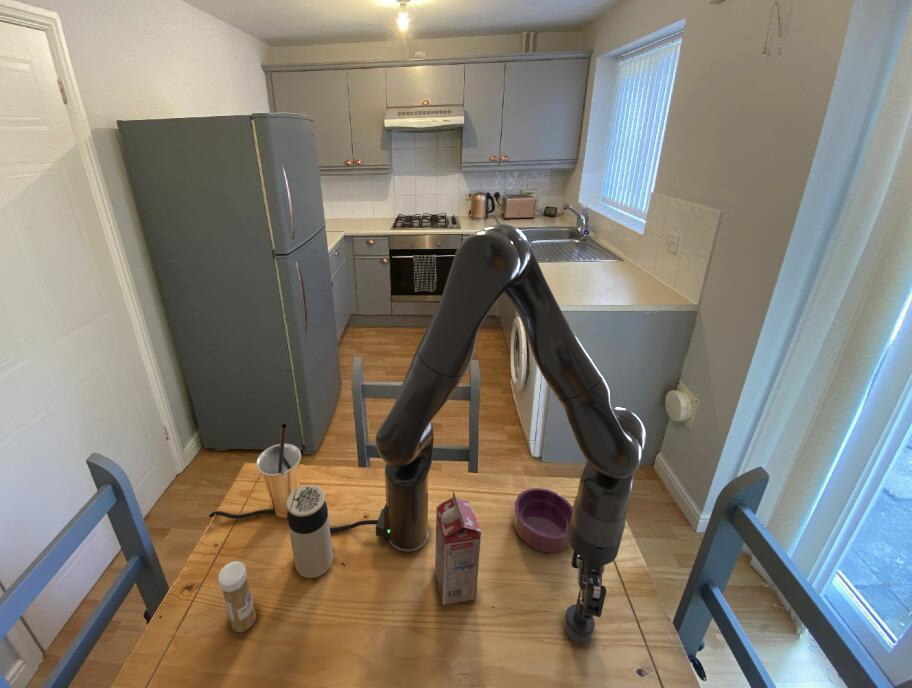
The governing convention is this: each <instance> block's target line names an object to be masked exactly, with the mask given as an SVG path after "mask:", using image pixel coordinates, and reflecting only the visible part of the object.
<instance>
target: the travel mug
mask: <svg viewBox="0 0 912 688" xmlns="http://www.w3.org/2000/svg"><path fill="white" fill-rule="evenodd" d="M325 499H326V495H325V492H324V489H322V487H320V486H317V485H314V484H305V485H304V484H303V485H302V486H300V487H299V488H297V489H295V490H294V491H293V492H292V493H291V494H290V495H289V497H288V499H287V503H286V505H287V509H288V512H287V517H286V518H287V525H288V530H289V537H290V542H291V549H292V553H293V554H292V555H293V560H294V561H293V562H294V566H295V570H296V571H297V573H298V574H299V575H300V577H303V578H305V579H315V578H318V577H321V576H322V575H324V574H325V573H326V572H327V571H328V570H329V569H330V567H331V565H332V564H333V560H334V554H333V543H332V536H331V532H330V528H331V527H330V517H329V510H328V504H327V502H326V500H325Z"/></svg>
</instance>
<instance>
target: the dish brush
mask: <svg viewBox="0 0 912 688" xmlns="http://www.w3.org/2000/svg"><path fill="white" fill-rule="evenodd" d="M583 581H584V582H588V583H591V578H586V577H584V576H583ZM580 594H581V588H580V587H579V590H578V595H577V599H576V604H570V605H569V606H568V607H567V608H566V612H565V614H564V615H565V618H564V620H565V621H564V631H565V634H566V635H567V637H568V638H569V639H570V640H571V641H572V642H574V643H576V644H579V645H585V644H587V643H588V642H589V641H590V639H591V637H592V634H593V632H594V630H595V626H596V621H595V618H594V617H593V618H592V619H591V620H588V619H584V618H581V617H579V616H578V611H577V610H578V606H579V601H580Z"/></svg>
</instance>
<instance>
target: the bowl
mask: <svg viewBox="0 0 912 688" xmlns="http://www.w3.org/2000/svg"><path fill="white" fill-rule="evenodd" d="M572 508H573V504H572V503H570V502H569V501H568V500H567V498H565V497H564V496H562V495H561V494H559V493H558V492H555V491H553V490H550V489H548V488H541V487H536V488H528V489H525V490H523V491H522V492H521V493H519V494H518V495H517V496H516V499H515V501H514V506H513V514H512V524H513V527H514V530H515V533H517V535H518V536H519V538H520V539H521V540H522V541H523V542H524V543H525V544H527V545H528V546H530V547H531V548H533V549H535V550H537V551H538V552H544V553H548V554H552V553H553V554H554V553H561V552H564V551H565V550H568V549H569V548H570V547H571V546H570V544H569V541H568V529H569V523H570V518H571V514H572Z"/></svg>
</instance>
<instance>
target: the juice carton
mask: <svg viewBox="0 0 912 688" xmlns="http://www.w3.org/2000/svg"><path fill="white" fill-rule="evenodd" d="M435 510H436V511H435V512H436V513H435V555H434V556H435V557H434V558H435V560H434V574H435V578H436V583H437V587H438V591H439V594H440V595H439V596H440V599H441V603H442V605H444V606H445V605H450V604H455V603H461V602H469V601H472V600H473V601H474V600H476V599H477V598H476V597H477V587H478V577H479V576H478V575H479V563H480V551H481V550H480V549H481V537H482V530H481V528H480V525H479V522H478V520H477V517H476V514H475V511H474V509H473V506H472V503H471V501H469V500H466V499H461V498H457V496H456V494H455V491H454V490H453V491H452V497H451V498H449V499H447V500H445V501H444V502H441V503H439V504H438V505H437V506H436V509H435Z"/></svg>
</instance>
